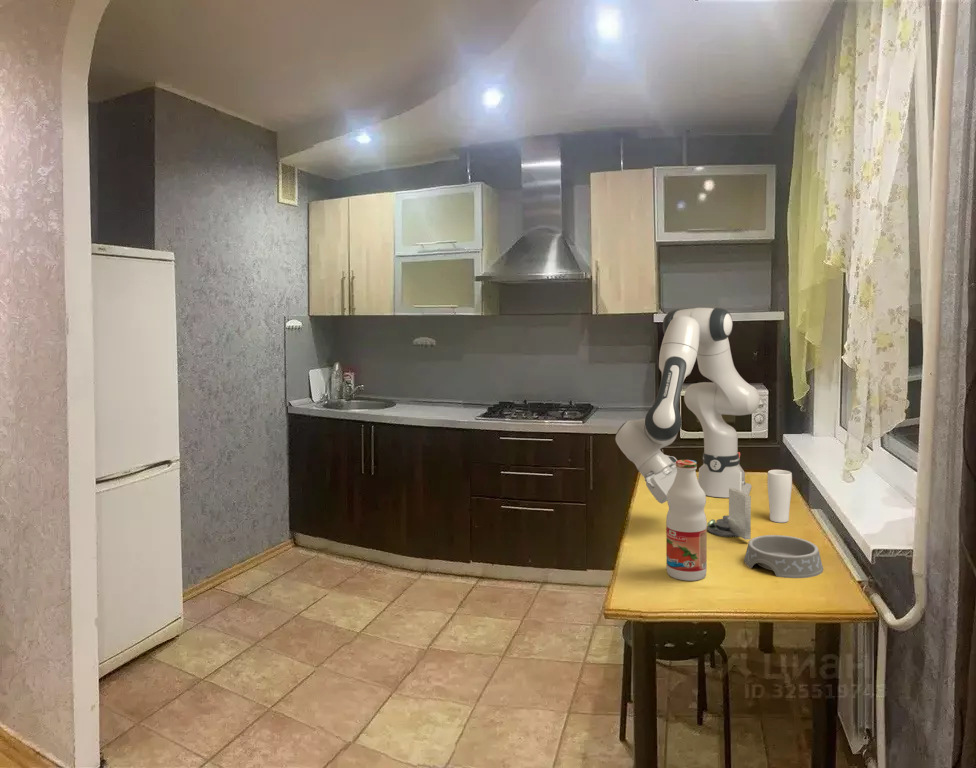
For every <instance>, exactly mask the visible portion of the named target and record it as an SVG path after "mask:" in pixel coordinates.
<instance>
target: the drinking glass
mask: <svg viewBox="0 0 976 768" xmlns="http://www.w3.org/2000/svg"><path fill="white" fill-rule="evenodd" d="M792 489H793V473H792V472H791V471H790V470H785V469H784V470H783V469H771V470H768V471H767V494H768V506H769V507H768V508H769V519H770V521H771V522H774V523H777V524H778V523H779V524H784V523H788V522H789V519H790V509H791V506H790V505H791V498H792Z"/></svg>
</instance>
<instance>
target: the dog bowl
mask: <svg viewBox="0 0 976 768" xmlns="http://www.w3.org/2000/svg"><path fill="white" fill-rule="evenodd" d="M743 562H744V564H745V565H746V566H747V567H748V568H750V569H753V566H754V565H756V564H757V565H758V566H759V567H762V568H764V569H766V570H770V571H773V573H774V575H775V576H776V577H778V578H783V579H785V578H786V579H806V578H813V577H816V576H820V575H822V574H823V572H824V566H823V562H822V558H821V554H820V550H819V547H818V546H817V545H816V544H814V543H813V542H811V541H809V540H807V539H803V538H799V537H795V536H790V535H782V534H781V535H779V534H766V535H760V536H756V537H752V538H750V539H749V541H748V543H747V548H746V552H745V556H744V558H743Z"/></svg>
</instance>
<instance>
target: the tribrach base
mask: <svg viewBox="0 0 976 768" xmlns="http://www.w3.org/2000/svg"><path fill="white" fill-rule="evenodd" d="M707 532H708V533H709V534H711V535H713V536H718V537H723V538H725V537H726V538H741V537H740V536H738V535H737V534H735V533H733V532H732V531H730V530H724V529H720V528H717V527H716V520H715V519H710V520H709V521H708V522H707Z"/></svg>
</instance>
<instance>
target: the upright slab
mask: <svg viewBox="0 0 976 768" xmlns="http://www.w3.org/2000/svg"><path fill="white" fill-rule="evenodd" d="M751 504H752V496H751V495H750V494H749V495H747V494H745V493H743V492H741V491H739V490H737V489H735V488H731V489H729V497H728V515H723V516H722V518H718V519H716V520H715V523H716V527H717V528H720V529H724V530H730V531H732V532H733V533H735V534H737V535H738V536H740V537H739V538H742V539H744V540H745V541H746V540H751V539H752V538H751V532H752V531H751V524H752V523H751V522H752V521H751V519H752V517H751V514H752V513H751V512H752V511H751V509H752V505H751Z"/></svg>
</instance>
